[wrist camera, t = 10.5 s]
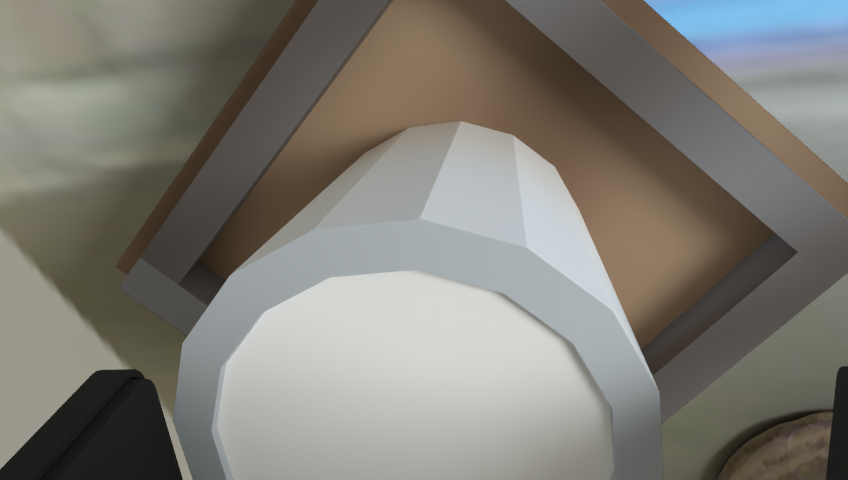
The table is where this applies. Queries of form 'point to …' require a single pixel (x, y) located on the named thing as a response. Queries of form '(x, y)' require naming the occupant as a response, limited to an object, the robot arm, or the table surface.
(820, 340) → the table surface
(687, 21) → the table surface
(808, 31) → the table surface
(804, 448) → the decorative bust
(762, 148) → the display riser
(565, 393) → the white short cylinder
